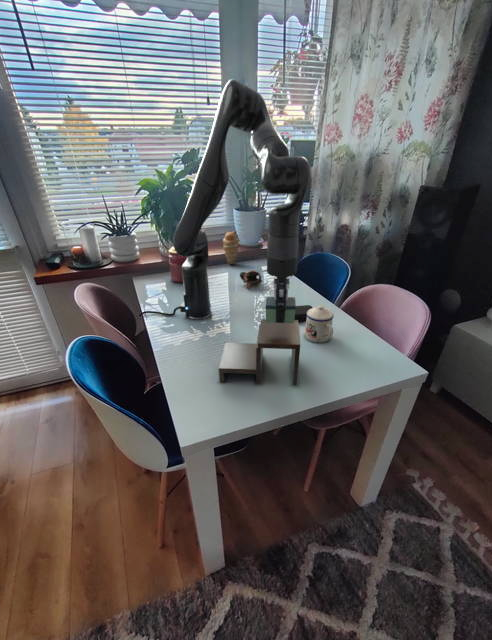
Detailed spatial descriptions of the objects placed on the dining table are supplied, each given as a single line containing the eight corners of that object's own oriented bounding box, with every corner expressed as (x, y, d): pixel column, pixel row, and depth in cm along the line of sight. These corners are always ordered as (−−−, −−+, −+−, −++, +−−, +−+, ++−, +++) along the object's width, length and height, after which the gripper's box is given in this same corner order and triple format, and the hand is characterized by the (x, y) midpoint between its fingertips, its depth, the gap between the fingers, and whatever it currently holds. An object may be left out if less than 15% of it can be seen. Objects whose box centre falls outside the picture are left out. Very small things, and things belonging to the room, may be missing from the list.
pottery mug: (265, 284, 158) (266, 272, 151) (256, 298, 155) (256, 287, 147) (243, 274, 161) (243, 263, 153) (234, 288, 157) (233, 277, 150)
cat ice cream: (240, 262, 185) (239, 229, 175) (237, 266, 179) (236, 232, 169) (225, 261, 187) (223, 228, 177) (222, 265, 180) (219, 231, 170)
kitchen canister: (176, 273, 170) (171, 238, 160) (200, 274, 169) (196, 239, 159) (167, 282, 159) (161, 245, 150) (192, 283, 158) (188, 246, 148)
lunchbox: (265, 322, 86) (265, 305, 83) (266, 313, 91) (266, 296, 88) (294, 323, 85) (295, 306, 83) (293, 314, 90) (294, 297, 87)
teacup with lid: (299, 333, 116) (302, 303, 110) (320, 328, 119) (324, 298, 113) (318, 349, 107) (322, 317, 101) (340, 343, 110) (346, 312, 104)
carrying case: (282, 325, 121) (320, 322, 124) (283, 318, 120) (321, 314, 122) (276, 313, 130) (311, 310, 132) (276, 306, 129) (312, 303, 131)
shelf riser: (219, 382, 93) (216, 342, 85) (226, 355, 104) (224, 318, 97) (296, 385, 91) (300, 344, 84) (295, 358, 103) (298, 320, 95)
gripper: (268, 245, 84) (267, 305, 94) (265, 262, 73) (265, 329, 82) (296, 246, 84) (293, 306, 93) (299, 263, 72) (294, 329, 81)
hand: (279, 316), depth 88 cm, fingers closed on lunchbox, 5 cm apart
